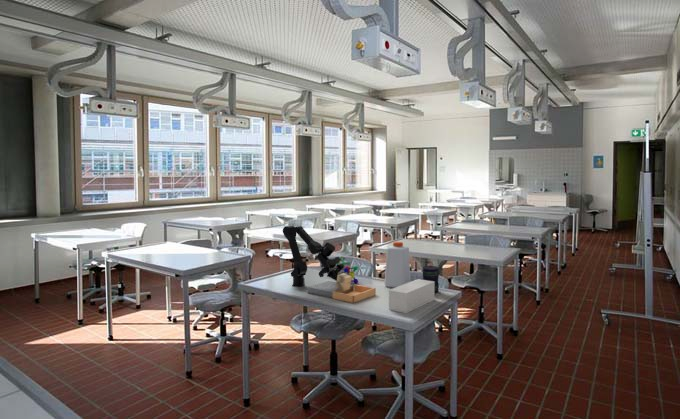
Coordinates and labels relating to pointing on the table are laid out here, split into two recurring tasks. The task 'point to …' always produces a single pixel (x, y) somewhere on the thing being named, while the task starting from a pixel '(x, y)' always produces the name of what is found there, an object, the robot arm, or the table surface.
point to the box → (355, 294)
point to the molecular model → (351, 273)
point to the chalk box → (344, 265)
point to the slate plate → (327, 289)
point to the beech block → (343, 282)
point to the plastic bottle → (397, 265)
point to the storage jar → (431, 275)
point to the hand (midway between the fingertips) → (339, 281)
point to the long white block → (411, 295)
